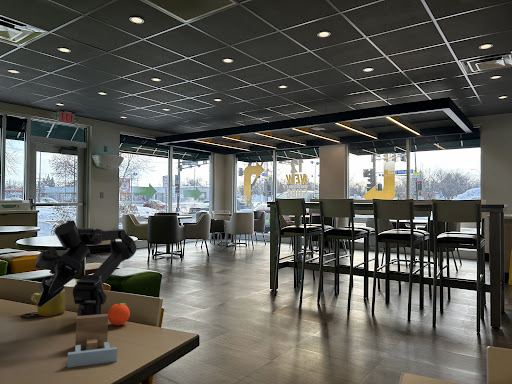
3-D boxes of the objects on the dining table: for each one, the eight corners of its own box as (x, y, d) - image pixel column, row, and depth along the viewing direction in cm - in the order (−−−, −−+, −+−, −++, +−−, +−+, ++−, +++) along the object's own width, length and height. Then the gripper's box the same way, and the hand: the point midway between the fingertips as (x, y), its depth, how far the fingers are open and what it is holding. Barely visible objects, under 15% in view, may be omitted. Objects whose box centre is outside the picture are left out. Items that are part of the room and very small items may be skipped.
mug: (77, 306, 144) (67, 281, 143) (55, 321, 135) (44, 295, 133) (53, 309, 149) (44, 285, 147) (30, 324, 139) (20, 299, 138)
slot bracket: (68, 358, 97) (68, 346, 97) (114, 352, 102) (115, 341, 102) (67, 367, 91) (67, 354, 92) (116, 361, 96) (117, 348, 96)
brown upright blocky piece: (75, 346, 107) (76, 316, 107) (106, 342, 110) (107, 313, 110) (74, 356, 98) (76, 324, 99) (108, 352, 102) (109, 321, 102)
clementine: (125, 320, 133) (126, 299, 134) (136, 324, 129) (137, 302, 129) (103, 325, 127) (104, 302, 128) (113, 329, 123) (114, 306, 123)
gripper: (38, 258, 124) (7, 298, 112) (59, 230, 114) (27, 271, 101) (70, 276, 127) (43, 317, 115) (93, 250, 117) (66, 292, 105)
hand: (44, 300), depth 109 cm, fingers open, 9 cm apart
